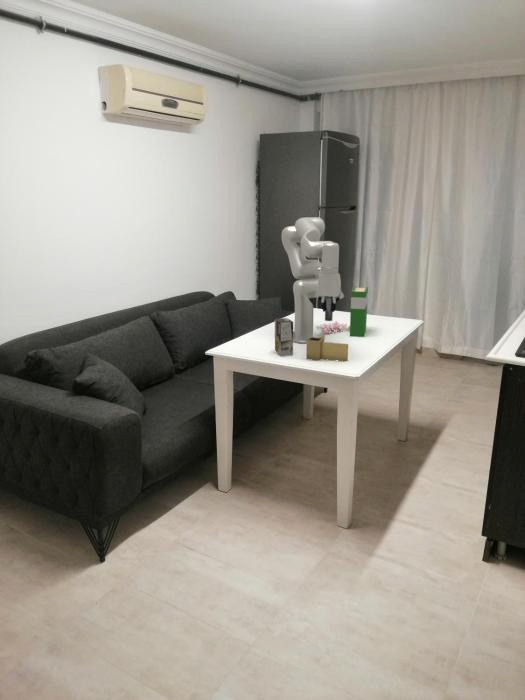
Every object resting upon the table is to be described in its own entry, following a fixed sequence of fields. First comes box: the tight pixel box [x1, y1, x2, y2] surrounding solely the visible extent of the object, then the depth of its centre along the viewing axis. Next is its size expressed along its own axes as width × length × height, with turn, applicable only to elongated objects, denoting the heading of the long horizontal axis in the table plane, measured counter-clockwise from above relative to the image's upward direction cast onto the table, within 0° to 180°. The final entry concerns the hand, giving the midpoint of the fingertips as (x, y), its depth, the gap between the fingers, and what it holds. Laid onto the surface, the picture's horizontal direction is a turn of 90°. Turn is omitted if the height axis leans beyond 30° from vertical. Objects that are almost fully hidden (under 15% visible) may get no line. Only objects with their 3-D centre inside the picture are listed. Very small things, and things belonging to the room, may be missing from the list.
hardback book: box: [349, 286, 369, 338], centre depth 295 cm, size 18×7×24 cm, turn 166°
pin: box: [324, 297, 334, 322], centre depth 249 cm, size 3×3×15 cm
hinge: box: [306, 333, 349, 362], centre depth 254 cm, size 18×18×9 cm
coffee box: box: [274, 317, 294, 357], centre depth 258 cm, size 9×6×16 cm
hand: (328, 311), depth 249 cm, fingers closed on pin, 3 cm apart
